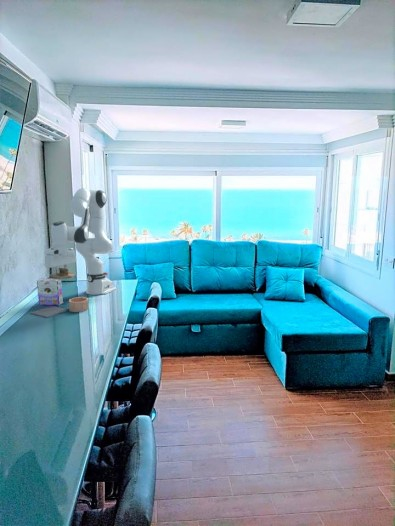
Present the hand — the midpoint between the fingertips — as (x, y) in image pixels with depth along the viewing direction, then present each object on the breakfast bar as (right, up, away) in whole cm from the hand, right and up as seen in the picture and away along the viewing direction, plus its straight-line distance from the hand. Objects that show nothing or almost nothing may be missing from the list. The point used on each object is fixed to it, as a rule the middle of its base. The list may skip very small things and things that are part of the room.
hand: (61, 272), depth 218 cm
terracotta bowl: (+8, -23, +8) cm, 25 cm away
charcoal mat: (-8, -24, +2) cm, 25 cm away
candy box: (-13, -21, +17) cm, 30 cm away
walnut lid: (0, -2, 0) cm, 2 cm away
